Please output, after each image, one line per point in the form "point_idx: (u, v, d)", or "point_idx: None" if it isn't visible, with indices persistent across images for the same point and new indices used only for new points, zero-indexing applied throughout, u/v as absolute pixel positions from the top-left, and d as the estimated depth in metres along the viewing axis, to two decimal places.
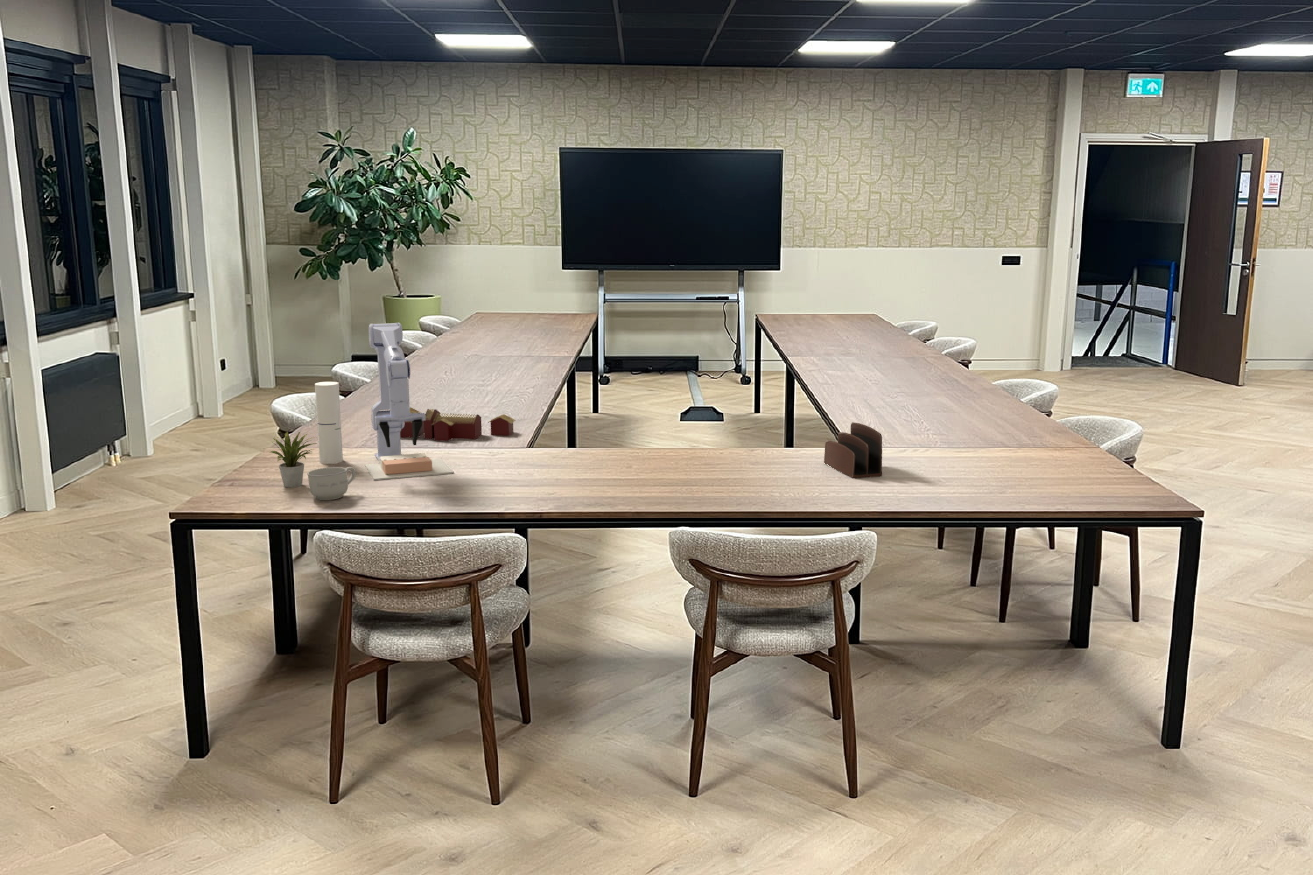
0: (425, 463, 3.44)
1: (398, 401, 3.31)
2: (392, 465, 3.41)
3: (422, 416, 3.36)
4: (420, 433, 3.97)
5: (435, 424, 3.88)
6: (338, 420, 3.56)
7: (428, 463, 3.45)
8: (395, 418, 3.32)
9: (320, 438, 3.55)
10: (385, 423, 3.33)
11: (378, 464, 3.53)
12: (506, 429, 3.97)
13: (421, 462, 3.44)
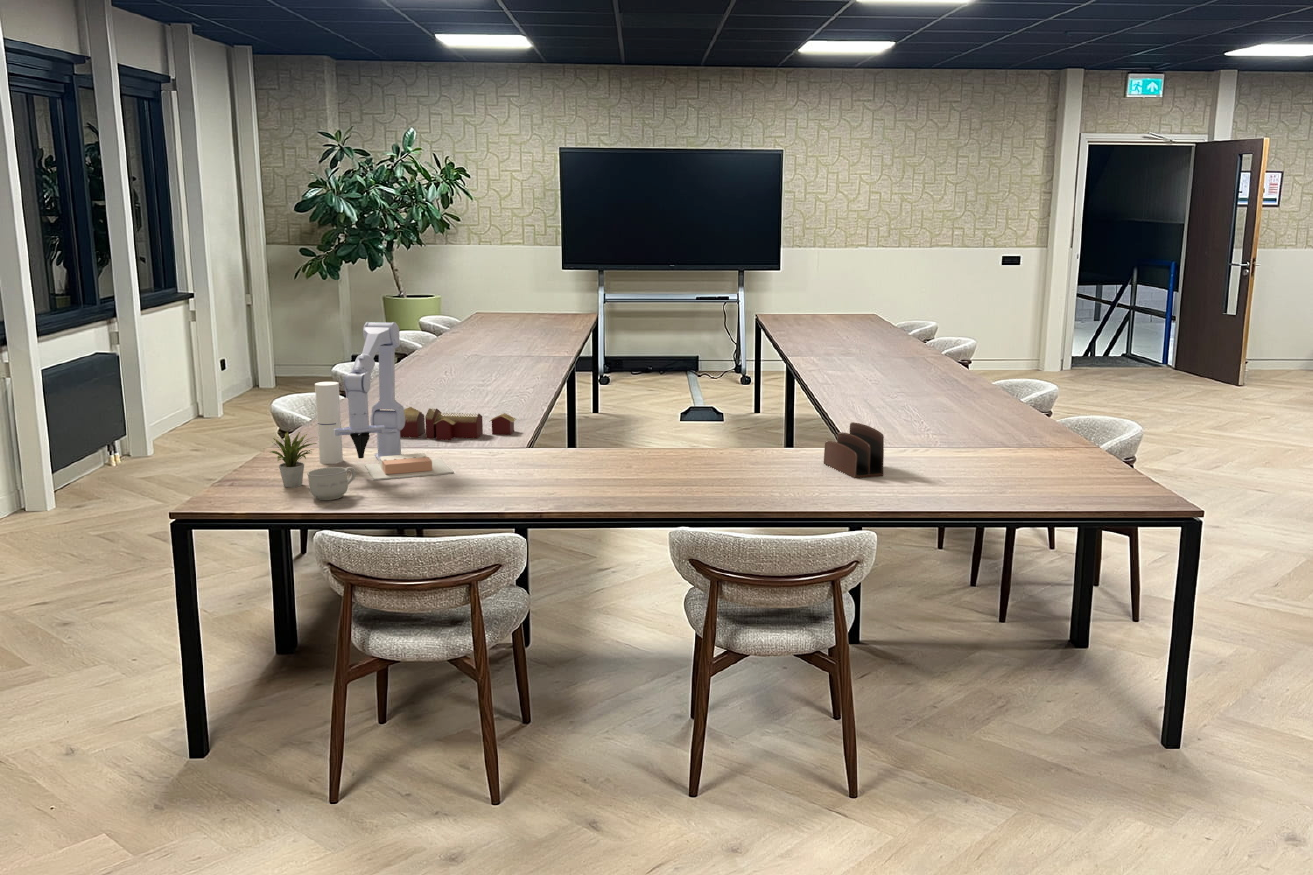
0: (425, 463, 3.44)
1: (352, 413, 3.34)
2: (392, 465, 3.41)
3: (381, 428, 3.39)
4: (421, 432, 3.98)
5: (437, 423, 3.89)
6: (338, 420, 3.56)
7: (428, 463, 3.45)
8: (354, 430, 3.35)
9: (320, 438, 3.55)
10: (356, 434, 3.37)
11: (378, 464, 3.53)
12: (507, 428, 3.99)
13: (421, 462, 3.44)
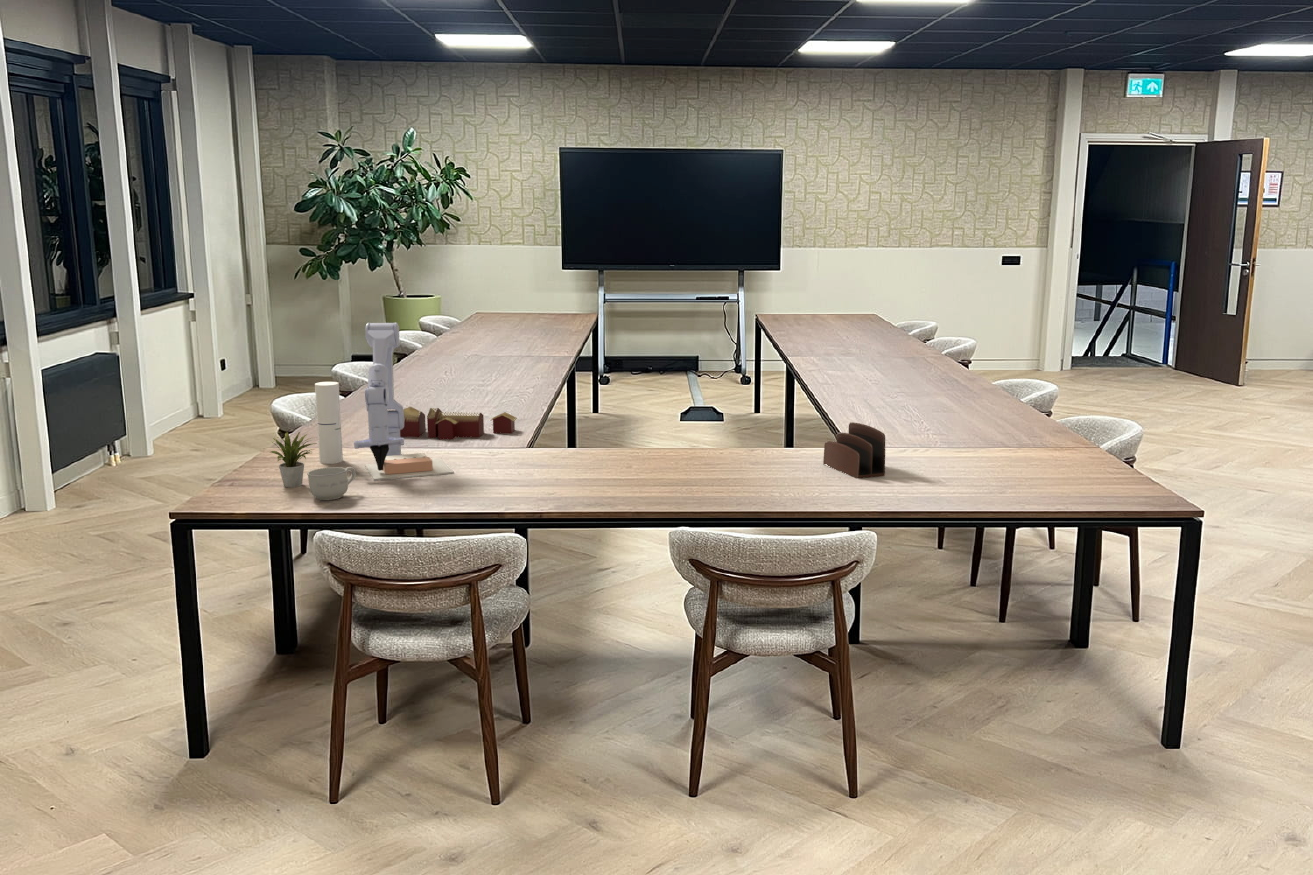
0: (425, 463, 3.44)
1: (374, 426, 3.37)
2: (393, 465, 3.41)
3: (401, 441, 3.42)
4: (422, 432, 3.99)
5: (439, 423, 3.90)
6: (338, 420, 3.56)
7: (429, 463, 3.45)
8: (374, 443, 3.38)
9: (320, 438, 3.55)
10: (376, 447, 3.40)
11: None
12: (508, 427, 4.01)
13: (422, 462, 3.44)
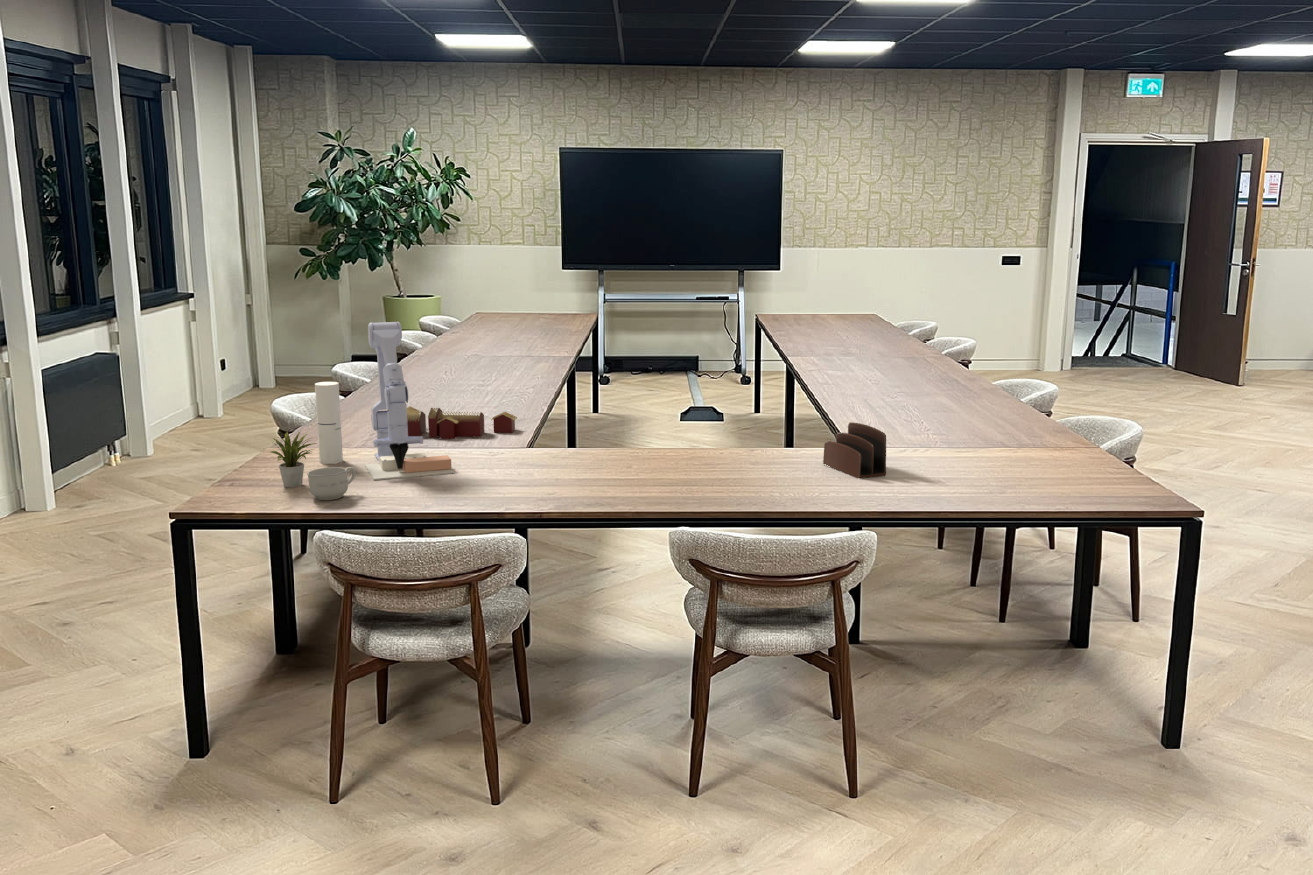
0: (444, 462, 3.47)
1: (396, 425, 3.39)
2: (412, 463, 3.43)
3: (420, 439, 3.44)
4: (423, 432, 3.99)
5: (440, 422, 3.91)
6: (338, 420, 3.56)
7: (448, 461, 3.47)
8: (393, 441, 3.40)
9: (320, 438, 3.55)
10: (395, 445, 3.42)
11: (378, 464, 3.53)
12: (509, 426, 4.02)
13: (440, 460, 3.46)
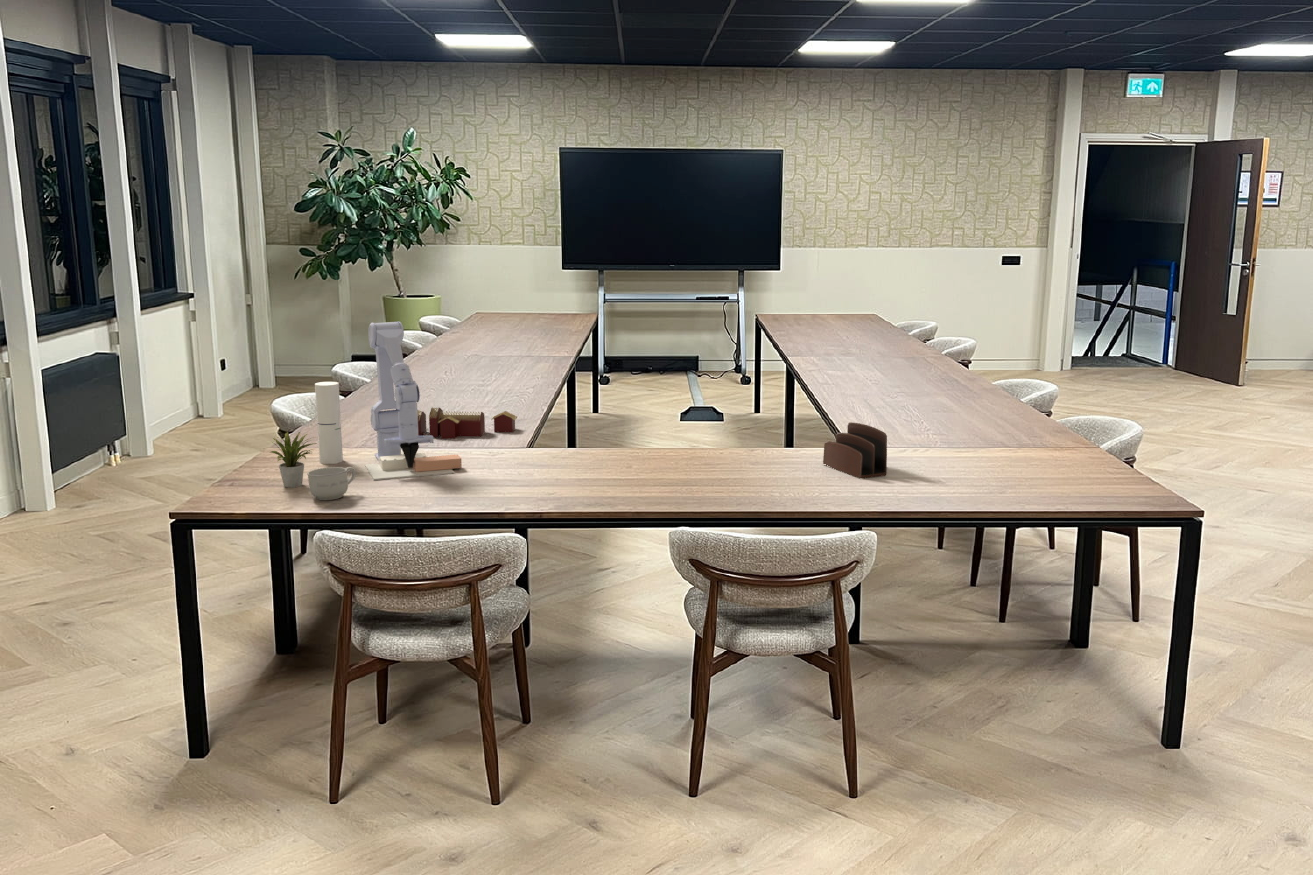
0: (455, 461, 3.48)
1: (408, 424, 3.40)
2: (422, 462, 3.44)
3: (430, 438, 3.45)
4: (423, 431, 4.00)
5: (441, 422, 3.91)
6: (338, 420, 3.56)
7: (458, 461, 3.48)
8: (404, 441, 3.41)
9: (320, 438, 3.55)
10: (406, 444, 3.43)
11: (378, 464, 3.53)
12: (509, 426, 4.03)
13: (451, 460, 3.47)
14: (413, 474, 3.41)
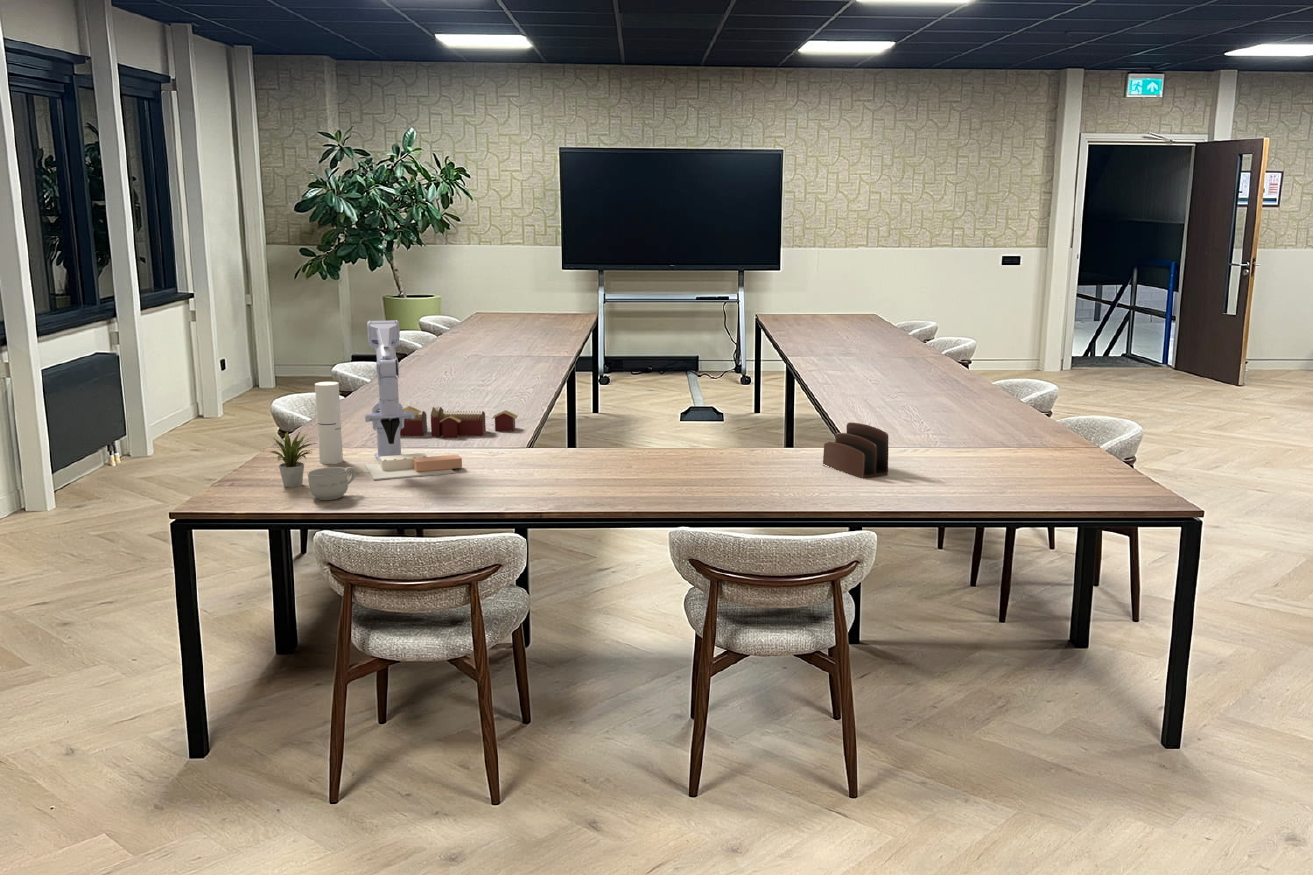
0: (455, 461, 3.48)
1: (386, 400, 3.37)
2: (423, 462, 3.44)
3: (411, 414, 3.42)
4: (424, 431, 4.01)
5: (443, 421, 3.93)
6: (338, 420, 3.56)
7: (458, 461, 3.48)
8: (384, 416, 3.38)
9: (320, 438, 3.55)
10: (387, 420, 3.40)
11: (378, 464, 3.53)
12: (510, 424, 4.05)
13: (451, 459, 3.47)
14: (413, 474, 3.41)
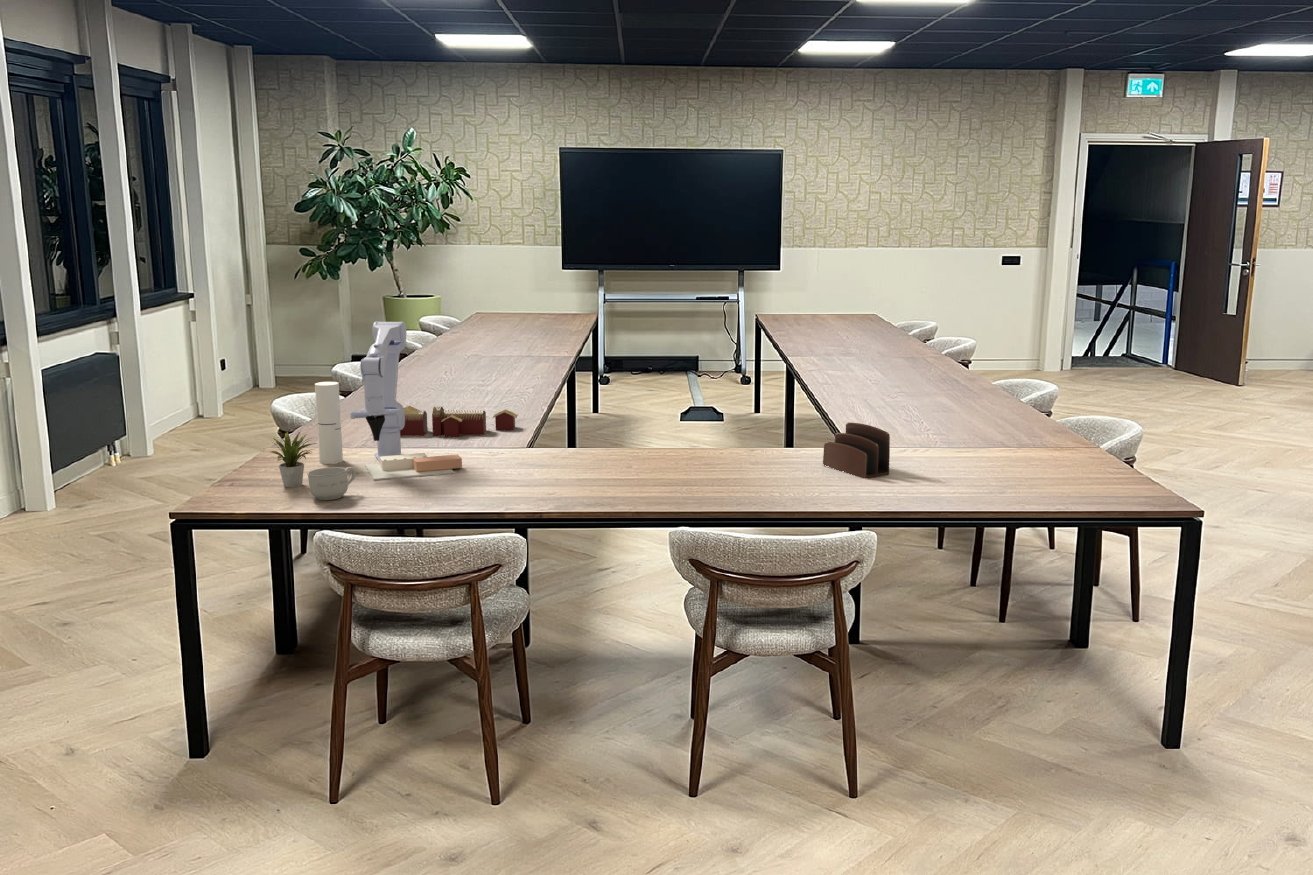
0: (455, 461, 3.48)
1: (369, 397, 3.41)
2: (423, 462, 3.44)
3: (396, 411, 3.46)
4: (425, 431, 4.01)
5: (445, 421, 3.94)
6: (338, 420, 3.56)
7: (458, 461, 3.48)
8: (370, 413, 3.42)
9: (320, 438, 3.55)
10: (372, 417, 3.44)
11: (378, 464, 3.53)
12: (510, 423, 4.06)
13: (451, 459, 3.47)
14: (413, 474, 3.41)
